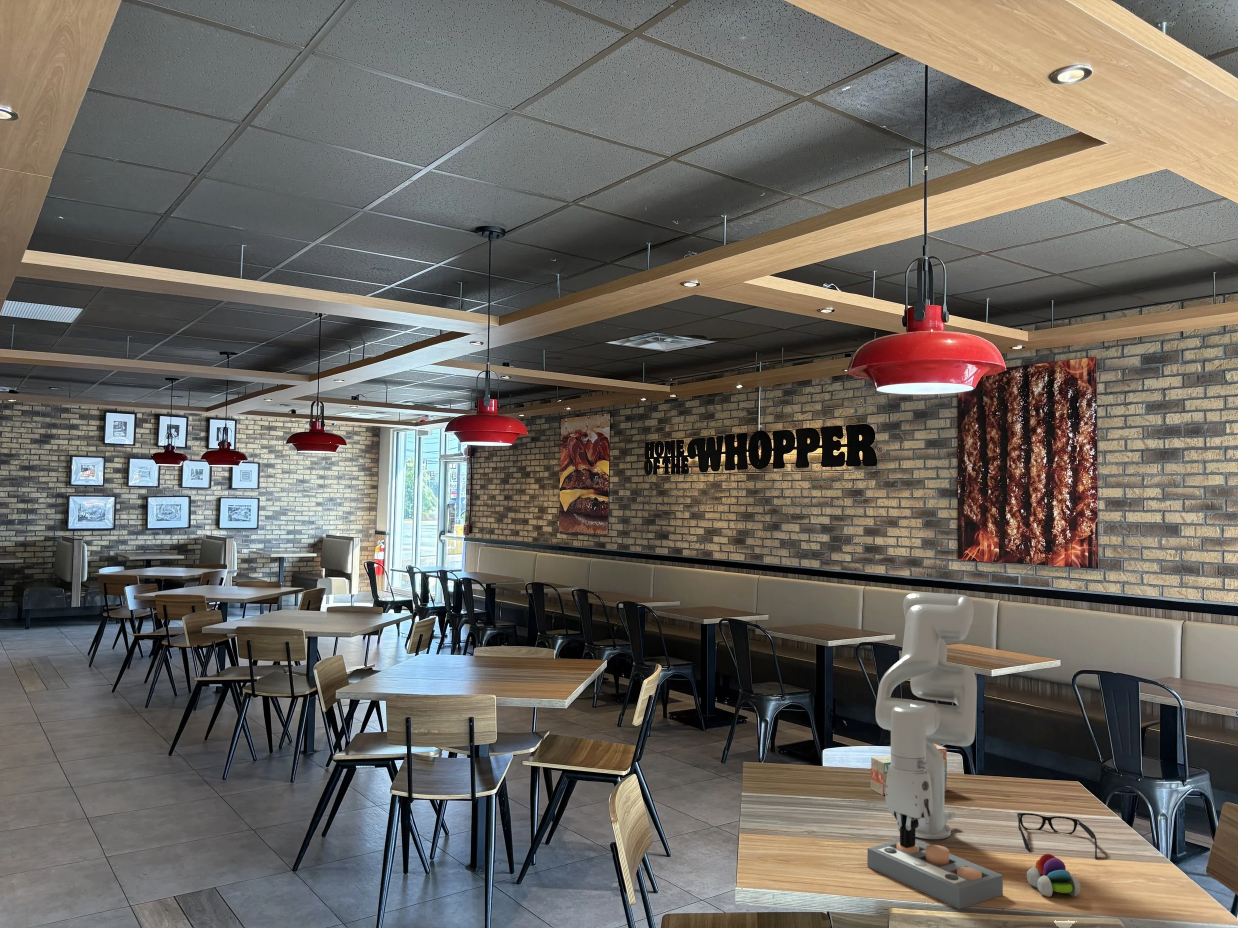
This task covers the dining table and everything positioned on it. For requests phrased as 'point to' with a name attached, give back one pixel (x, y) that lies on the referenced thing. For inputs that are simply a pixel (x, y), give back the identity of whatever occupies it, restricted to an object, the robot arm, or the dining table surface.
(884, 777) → the stack of blocks
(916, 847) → the button
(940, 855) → the button
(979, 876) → the button
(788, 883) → the dining table surface
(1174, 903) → the dining table surface
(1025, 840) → the glasses
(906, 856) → the button board
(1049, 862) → the rainbow wheeled toy
